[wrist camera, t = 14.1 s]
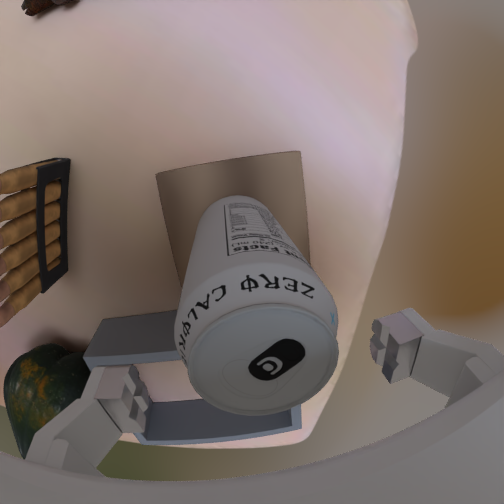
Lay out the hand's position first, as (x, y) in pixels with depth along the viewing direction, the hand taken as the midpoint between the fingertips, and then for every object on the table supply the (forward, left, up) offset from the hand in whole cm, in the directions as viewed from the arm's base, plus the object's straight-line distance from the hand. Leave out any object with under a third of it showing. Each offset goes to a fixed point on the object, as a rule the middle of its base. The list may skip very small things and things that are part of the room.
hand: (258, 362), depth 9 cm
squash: (-23, -15, -16) cm, 32 cm away
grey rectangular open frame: (-6, -14, -16) cm, 22 cm away
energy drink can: (0, 0, -15) cm, 15 cm away
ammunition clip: (-16, +4, -16) cm, 23 cm away
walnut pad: (0, 0, -16) cm, 16 cm away
